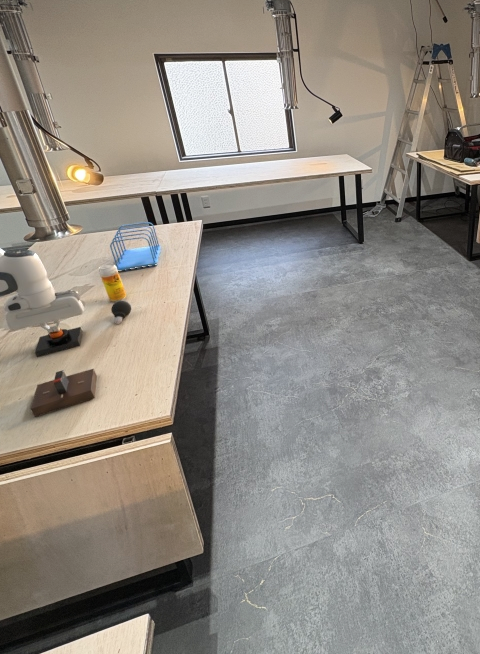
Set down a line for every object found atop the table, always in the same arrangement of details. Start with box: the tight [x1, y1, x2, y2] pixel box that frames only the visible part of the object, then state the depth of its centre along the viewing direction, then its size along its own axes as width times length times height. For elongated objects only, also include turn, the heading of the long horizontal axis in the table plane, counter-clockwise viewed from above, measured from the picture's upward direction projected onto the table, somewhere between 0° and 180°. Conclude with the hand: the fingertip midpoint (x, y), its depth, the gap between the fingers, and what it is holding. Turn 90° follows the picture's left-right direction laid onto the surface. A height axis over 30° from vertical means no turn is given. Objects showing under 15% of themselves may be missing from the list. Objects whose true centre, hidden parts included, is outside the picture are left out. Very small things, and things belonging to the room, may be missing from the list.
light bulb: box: [110, 300, 132, 325], centre depth 155 cm, size 6×6×10 cm
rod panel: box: [30, 368, 98, 418], centre depth 119 cm, size 14×11×3 cm
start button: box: [48, 328, 63, 338], centre depth 141 cm, size 4×4×2 cm
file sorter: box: [109, 221, 162, 273], centre depth 202 cm, size 25×17×15 cm
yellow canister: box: [98, 263, 127, 303], centre depth 167 cm, size 6×6×15 cm
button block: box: [34, 326, 84, 358], centre depth 142 cm, size 12×10×4 cm
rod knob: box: [53, 369, 68, 394], centre depth 117 cm, size 6×2×4 cm, turn 30°
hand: (54, 331), depth 140 cm, fingers closed, pressing on start button
